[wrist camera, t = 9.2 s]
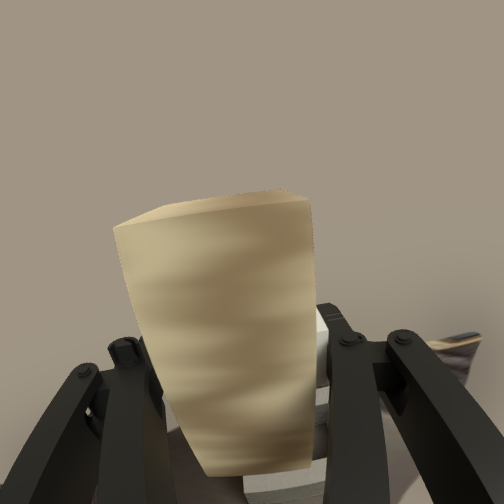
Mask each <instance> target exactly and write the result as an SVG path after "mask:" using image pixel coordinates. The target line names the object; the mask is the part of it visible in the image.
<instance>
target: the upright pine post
mask: <svg viewBox="0 0 504 504" xmlns="http://www.w3.org/2000/svg"><path fill="white" fill-rule="evenodd" d="M113 231H114V236H115V240H116V245H117V249H118V254H119V258H120V262H121V266H122V270H123V274H124V278H125V282H126V285H127V289H128V293H129V296H130V299H131V303H132V306H133V310H134V313H135V316H136V319H137V322H138V325H139V328H140V331H141V334H142V337H143V340H144V343H145V346H146V348H147V351H148V354H149V356H150V359H151V362H152V364H153V367H154V369H155V372H156V374H157V377H158V379H159V382H160V384H161V386H162V389H163V391H164V393H165V396H166V398H167V400H168V402H169V405H170V406H171V409H172V411H173V413H174V415H175V417H176V420H177V422H178V423H179V426H180V428H181V430H182V432H183V434H184V436H185V437H186V439H187V441H188V443H189V445H190V447H191V449H192V451H193V452H194V454H195V456H196V458H197V460H198V461H199V463H200V465H201V467H202V468H203V470H204V472H205V473H206V475H207V476H209V477H222V476H248V475H261V474H271V473H280V472H287V471H294V470H300V469H306V468H311V465H312V454H313V440H314V424H315V402H316V363H317V326H316V285H315V262H314V244H313V229H312V217H311V205H310V200H309V199H307V198H304V197H301V196H299V195H296V194H293V193H290V192H288V191H285V190H282V189H279V190H270V191H261V192H252V193H244V194H236V195H228V196H222V197H214V198H207V199H200V200H194V201H187V202H181V203H175V204H169V205H164V206H161V207H159V208H156V209H154V210H152V211H149V212H147V213H145V214H142V215H140V216H138V217H135V218H133V219H131V220H128V221H126V222H124V223H122V224H120V225H117V226H115V227H113Z"/></svg>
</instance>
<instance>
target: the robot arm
mask: <svg viewBox="0 0 504 504" xmlns="http://www.w3.org/2000/svg"><path fill="white" fill-rule="evenodd" d="M316 326H317V363H316V387H317V386H322V385H327V376H328V379H329V382H330V387H329V400H328V403H329V425H328V447H327V463H326V476H325V487H324V497H323V504H390V492H389V477H388V465H387V455H386V446H385V437H384V430H383V423H382V416H381V410H380V403H379V398H378V392H379V394H380V396H381V398H382V400H383V402H384V404H385V405H386V407H387V409H388V411H389V413H390V415H391V417H392V419H393V421H394V423H395V424H396V426H397V428H398V430H399V432H400V434H401V436H402V438H403V440H404V442H405V444H406V446H407V448H408V450H409V452H410V454H411V456H412V458H413V460H414V462H415V464H416V467H417V469H418V471H419V473H420V475H421V477H422V479H423V481H424V483H425V486H426V488H427V490H428V492H429V494H430V496H431V499H432V501H433V503H434V504H504V437H503V436H502V434H501V433H500V431H499V430H498V429H497V428H496V426H495V425H494V423H493V422H492V421H491V420H490V418H489V417H488V416H487V414H486V413H485V412H484V411H483V409H482V408H481V407H480V406H479V404H478V403H477V402H476V401H475V399H474V398H473V397H472V396H471V395H470V393H469V392H468V391H467V390H466V388H465V387H464V386H463V385H462V384H461V383H460V381H459V380H458V379H457V378H456V377H455V376H454V374H453V373H452V372H451V371H450V370H449V369H448V367H447V366H446V365H445V364H444V363H443V362H442V361H441V360H440V358H439V357H438V356H437V355H436V354H435V353H434V352H433V351H432V350H431V348H430V347H429V346H428V345H427V344H426V343H425V342H424V341H423V340H422V339H421V338H420V337H419V336H418V335H417V334H416V333H414V332H413V331H410V330H403V329H401V330H395V331H393V332H391V333H390V334H389V335H388V337H387V341H383V342H370V341H367V339H366V338H365V336H364V335H362V334H361V333H358V332H354V331H353V330H352V329H351V327H350V326H349V324H348V323H347V321H346V320H345V318H344V317H343V315H342V314H341V312H340V311H339V309H338V308H337V307H336V306H335V305H333V304H331V303H325V304H319V305H316ZM108 351H109V353H110V355H111V358H112V360H113V362H114V364H115V367H114V369H111V370H106V371H99V369H98V367H97V365H95V364H93V363H83V364H80V365H79V366H77V367H76V368H75V369H74V370H73V371H72V372H71V373H70V375H69V376H68V378H67V379H66V381H65V382H64V383H63V385H62V386H61V388H60V389H59V391H58V392H57V394H56V395H55V397H54V398H53V400H52V401H51V403H50V404H49V406H48V407H47V409H46V410H45V412H44V414H43V415H42V417H41V418H40V420H39V421H38V423H37V425H36V426H35V428H34V430H33V431H32V433H31V435H30V436H29V438H28V440H27V441H26V443H25V445H24V447H23V448H22V450H21V452H20V454H19V455H18V457H17V459H16V461H15V463H14V465H13V466H12V468H11V470H10V472H9V474H8V476H7V479H6V480H5V482H4V484H3V486H2V488H1V490H0V504H91V501H92V497H93V494H94V491H95V488H96V485H97V482H98V504H177V502H176V496H175V490H174V484H173V477H172V470H171V463H170V455H169V446H168V436H167V425H166V413H165V405H164V402H163V400H162V395H163V392H164V391H163V389H162V386H161V384H160V382H159V379H158V377H157V374H156V372H155V369H154V367H153V364H152V362H151V359H150V356H149V354H148V351H147V348H146V346H145V343H144V340H143V337H142V336H141V337H140V339H139V341H138V340H137V339H136V338H134V337H124V338H120V339H117V340H115V341H113V342H112V343H111V344H110V345H109V346H108ZM87 408H89V409H90V411H91V412H90V414H89V415H87V414H86V410H87Z"/></svg>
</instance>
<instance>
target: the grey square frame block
mask: <svg viewBox="0 0 504 504" xmlns="http://www.w3.org/2000/svg"><path fill="white" fill-rule="evenodd" d="M329 387H330V386H329ZM329 387H325V388H320V389H316V402H315V424H314V426H318V425H323V424H326V425H327V427H328V425H329V403H328V400H329ZM326 463H327V458H323V459H318V460H314V461H312V465H311V468H306V469H300V470H294V471H287V472H280V473H271V474H261V475H248V476H243V484H244V494H245V496H246V499H247V501H248V503H249V504H276V503H283V502H289V501H295V500H301V499H306V498H311V497H315V496H320V495H324V487H325V476H326Z"/></svg>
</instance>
